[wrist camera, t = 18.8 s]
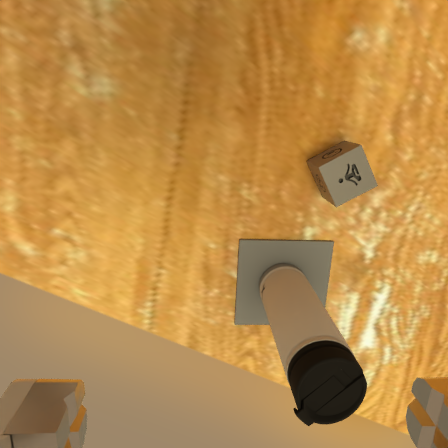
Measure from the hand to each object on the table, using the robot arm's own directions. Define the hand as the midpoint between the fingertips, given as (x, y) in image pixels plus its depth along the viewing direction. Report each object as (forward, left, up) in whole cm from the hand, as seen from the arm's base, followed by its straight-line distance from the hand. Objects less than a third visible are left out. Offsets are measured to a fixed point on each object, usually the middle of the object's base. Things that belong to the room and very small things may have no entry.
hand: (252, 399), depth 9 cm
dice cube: (0, +15, -37) cm, 40 cm away
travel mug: (+15, +10, -37) cm, 41 cm away
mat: (+15, +10, -37) cm, 41 cm away
